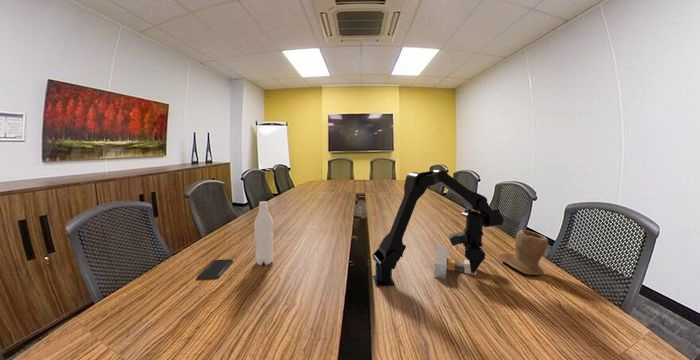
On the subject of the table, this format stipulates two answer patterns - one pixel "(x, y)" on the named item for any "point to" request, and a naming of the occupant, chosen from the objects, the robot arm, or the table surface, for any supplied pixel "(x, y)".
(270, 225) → the water bottle
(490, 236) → the table surface
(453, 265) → the plug
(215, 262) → the phone
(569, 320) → the table surface
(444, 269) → the housing
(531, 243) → the brown hat
